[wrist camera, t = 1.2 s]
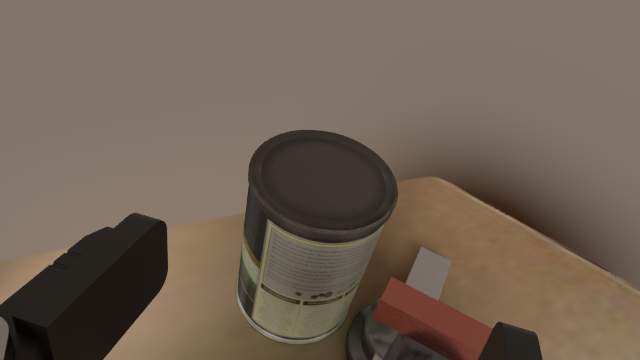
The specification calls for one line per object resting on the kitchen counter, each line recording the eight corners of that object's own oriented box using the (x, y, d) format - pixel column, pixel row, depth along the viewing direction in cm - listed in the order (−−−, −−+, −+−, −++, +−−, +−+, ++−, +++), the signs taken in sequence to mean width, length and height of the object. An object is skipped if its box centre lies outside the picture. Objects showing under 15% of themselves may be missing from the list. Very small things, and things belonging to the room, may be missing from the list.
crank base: (366, 295, 41) (371, 286, 40) (449, 339, 39) (456, 330, 38) (329, 369, 35) (333, 360, 34) (424, 424, 33) (431, 417, 32)
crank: (397, 251, 43) (466, 109, 32) (461, 283, 42) (554, 145, 31) (302, 448, 29) (368, 313, 18) (393, 506, 28) (522, 396, 17)
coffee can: (210, 284, 39) (216, 160, 30) (295, 229, 45) (322, 114, 36) (292, 373, 34) (329, 260, 25) (373, 298, 41) (426, 187, 32)
